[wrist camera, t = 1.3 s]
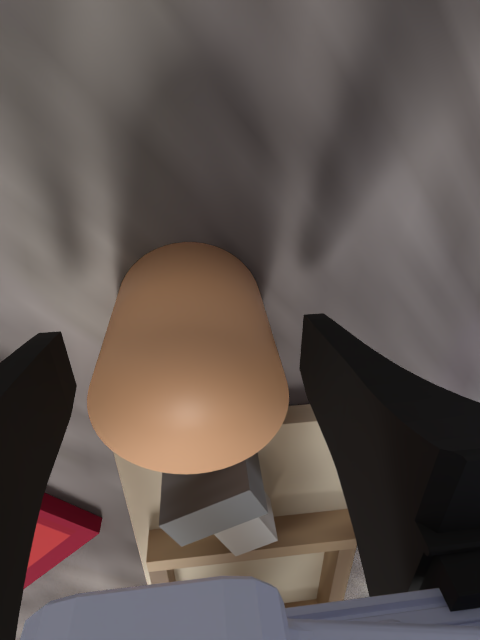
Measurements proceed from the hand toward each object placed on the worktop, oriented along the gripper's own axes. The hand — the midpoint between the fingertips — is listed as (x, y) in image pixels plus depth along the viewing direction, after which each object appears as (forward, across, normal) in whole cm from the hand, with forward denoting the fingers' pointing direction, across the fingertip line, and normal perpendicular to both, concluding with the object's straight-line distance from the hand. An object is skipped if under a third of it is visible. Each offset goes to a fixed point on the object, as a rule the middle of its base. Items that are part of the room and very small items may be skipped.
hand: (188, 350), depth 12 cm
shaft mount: (+2, -2, +16) cm, 16 cm away
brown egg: (+2, 0, 0) cm, 3 cm away
